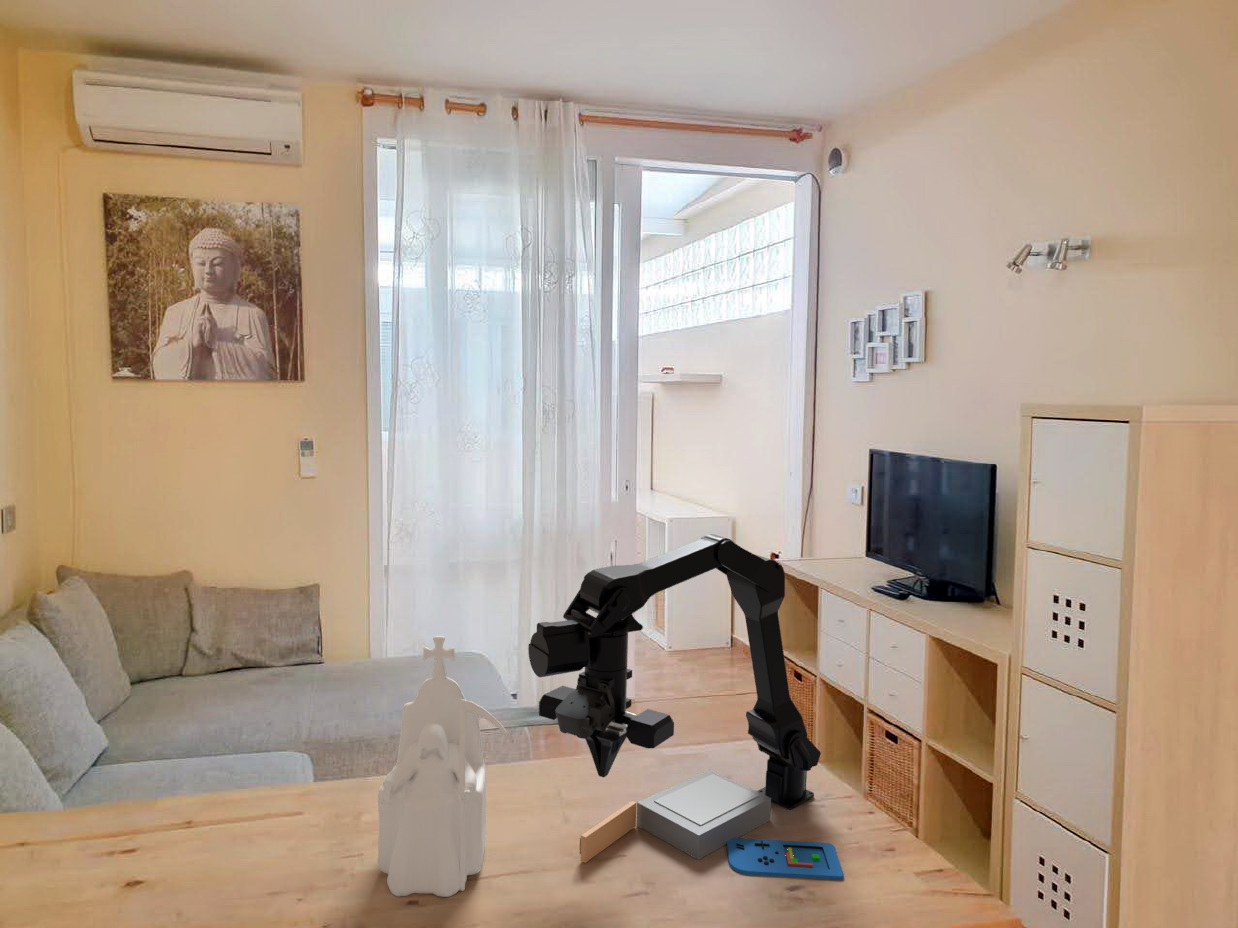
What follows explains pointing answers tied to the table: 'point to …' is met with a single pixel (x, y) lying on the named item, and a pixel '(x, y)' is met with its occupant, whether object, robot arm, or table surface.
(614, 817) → the case door
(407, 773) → the religious statue
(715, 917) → the table surface
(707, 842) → the case
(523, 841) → the table surface
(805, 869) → the handheld gaming device
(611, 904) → the table surface
